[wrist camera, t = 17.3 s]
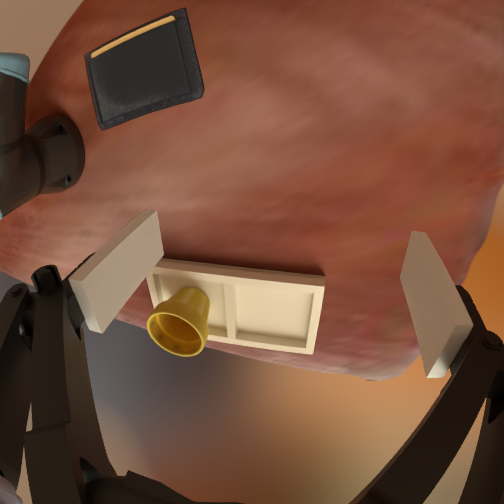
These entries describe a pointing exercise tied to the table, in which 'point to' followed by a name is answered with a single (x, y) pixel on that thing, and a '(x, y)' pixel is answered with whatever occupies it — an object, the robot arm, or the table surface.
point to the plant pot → (181, 322)
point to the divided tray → (248, 302)
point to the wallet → (144, 70)
